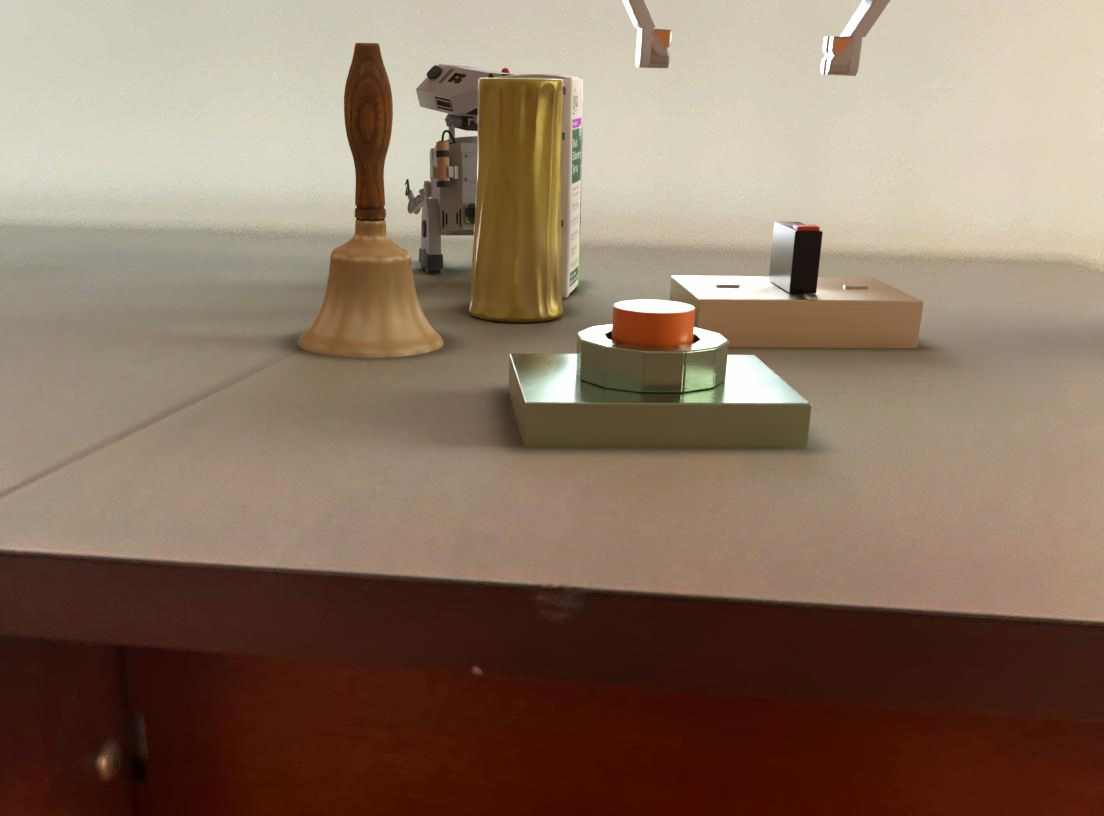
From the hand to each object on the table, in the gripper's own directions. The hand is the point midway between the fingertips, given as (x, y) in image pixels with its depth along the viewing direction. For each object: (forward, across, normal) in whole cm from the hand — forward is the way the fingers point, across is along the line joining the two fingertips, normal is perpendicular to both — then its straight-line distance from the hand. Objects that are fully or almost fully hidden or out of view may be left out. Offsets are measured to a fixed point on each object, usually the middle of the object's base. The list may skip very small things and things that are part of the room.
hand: (745, 71), depth 66 cm
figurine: (+16, +12, -38) cm, 43 cm away
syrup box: (+15, +8, -26) cm, 31 cm away
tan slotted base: (+15, -6, -9) cm, 18 cm away
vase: (+15, +10, -16) cm, 24 cm away
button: (+11, +6, +12) cm, 18 cm away
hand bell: (+15, +19, -4) cm, 25 cm away
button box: (+15, +6, +12) cm, 20 cm away
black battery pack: (+12, -6, -9) cm, 16 cm away
